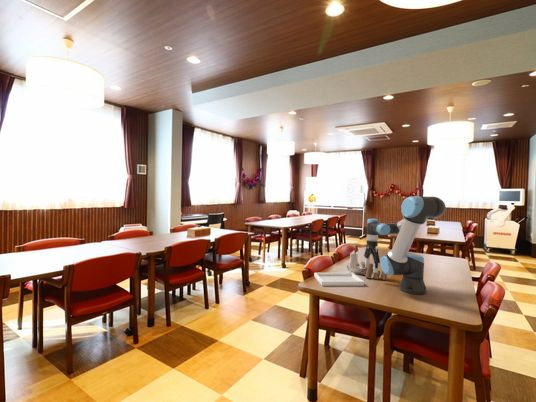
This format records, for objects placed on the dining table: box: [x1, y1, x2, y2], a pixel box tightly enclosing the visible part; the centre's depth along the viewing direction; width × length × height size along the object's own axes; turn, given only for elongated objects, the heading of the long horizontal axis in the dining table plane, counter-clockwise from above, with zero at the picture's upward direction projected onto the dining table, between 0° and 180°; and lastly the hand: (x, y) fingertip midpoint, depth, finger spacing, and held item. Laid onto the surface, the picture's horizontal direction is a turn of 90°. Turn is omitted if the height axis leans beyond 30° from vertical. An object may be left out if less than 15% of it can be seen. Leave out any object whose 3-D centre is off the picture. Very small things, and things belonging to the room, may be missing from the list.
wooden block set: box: [360, 262, 388, 281], centre depth 198 cm, size 18×9×10 cm, turn 50°
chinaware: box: [346, 249, 373, 275], centre depth 216 cm, size 28×17×17 cm, turn 144°
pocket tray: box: [313, 272, 365, 287], centre depth 188 cm, size 20×28×3 cm
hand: (371, 269), depth 195 cm, fingers open, 13 cm apart
